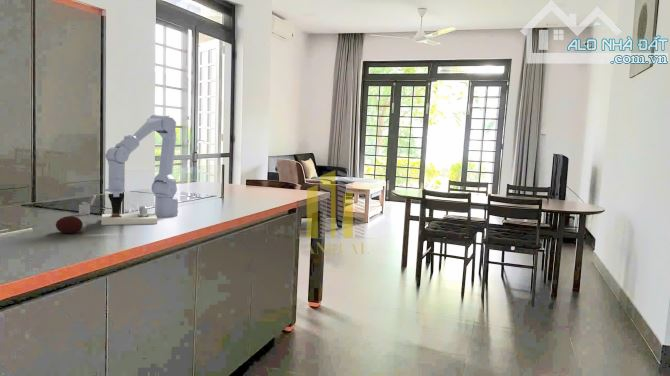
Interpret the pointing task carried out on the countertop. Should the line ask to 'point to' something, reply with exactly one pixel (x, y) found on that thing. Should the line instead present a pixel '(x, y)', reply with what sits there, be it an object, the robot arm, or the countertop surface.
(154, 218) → the hole block
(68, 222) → the potato
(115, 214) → the walnut pin
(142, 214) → the steel pin
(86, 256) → the countertop surface
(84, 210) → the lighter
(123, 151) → the robot arm
